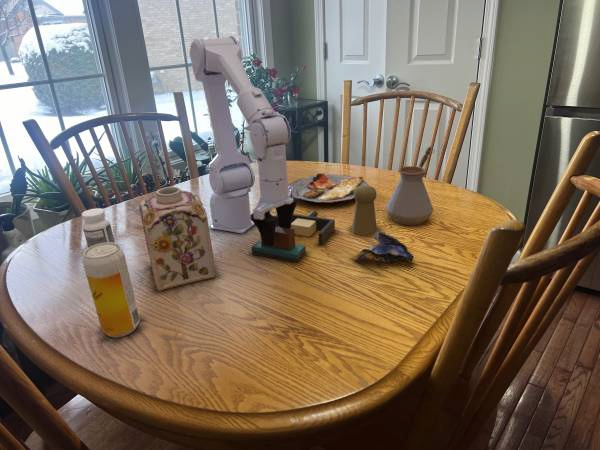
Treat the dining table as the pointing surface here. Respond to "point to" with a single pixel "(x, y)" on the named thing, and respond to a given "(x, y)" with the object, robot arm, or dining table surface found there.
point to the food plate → (326, 187)
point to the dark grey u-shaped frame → (318, 225)
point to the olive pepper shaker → (364, 211)
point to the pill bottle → (96, 227)
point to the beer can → (111, 288)
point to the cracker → (304, 227)
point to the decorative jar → (177, 237)
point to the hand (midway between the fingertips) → (277, 237)
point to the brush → (281, 246)
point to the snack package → (385, 249)
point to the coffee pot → (411, 196)
